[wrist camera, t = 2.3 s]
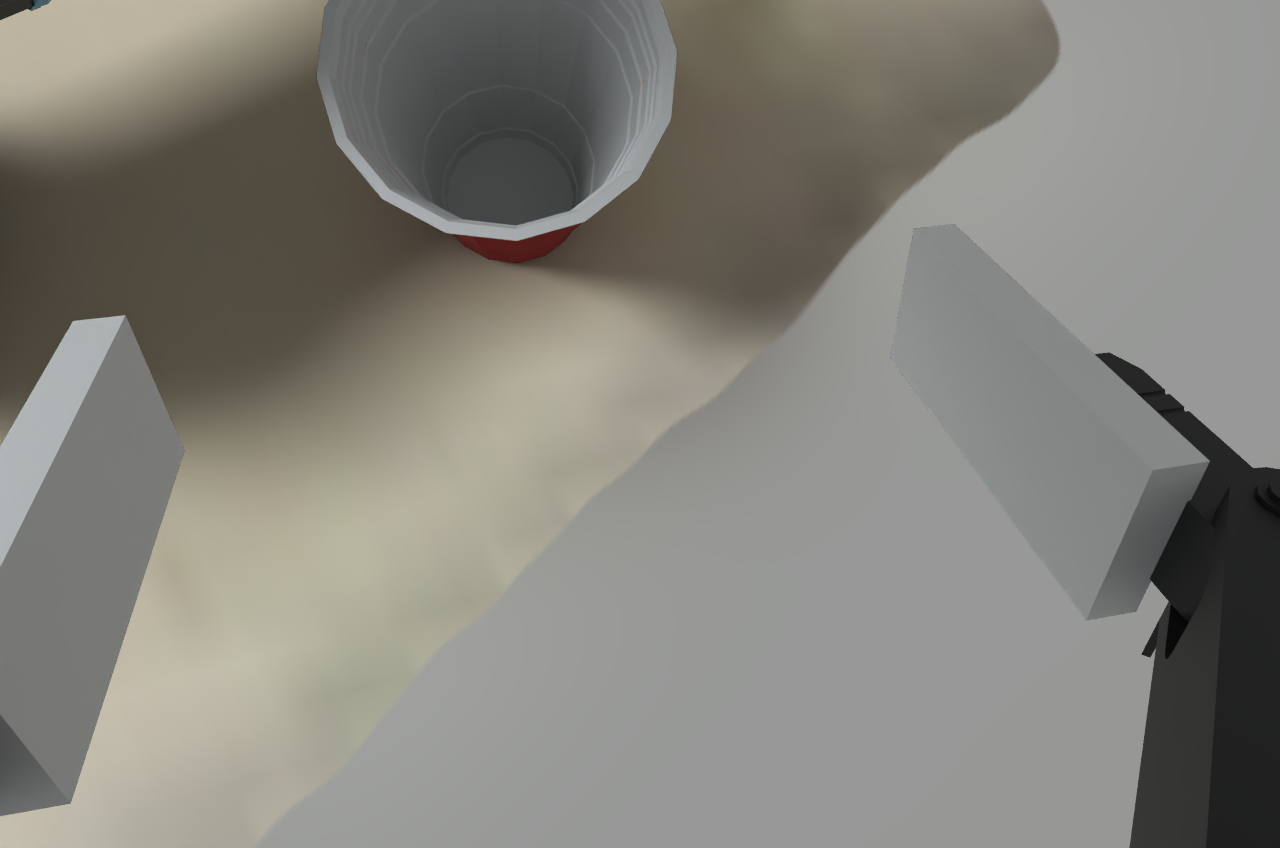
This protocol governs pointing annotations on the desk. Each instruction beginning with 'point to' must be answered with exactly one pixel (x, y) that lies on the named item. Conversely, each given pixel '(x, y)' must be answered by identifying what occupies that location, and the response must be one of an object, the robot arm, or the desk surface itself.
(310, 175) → the desk surface
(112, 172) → the desk surface
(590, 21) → the plastic cup
